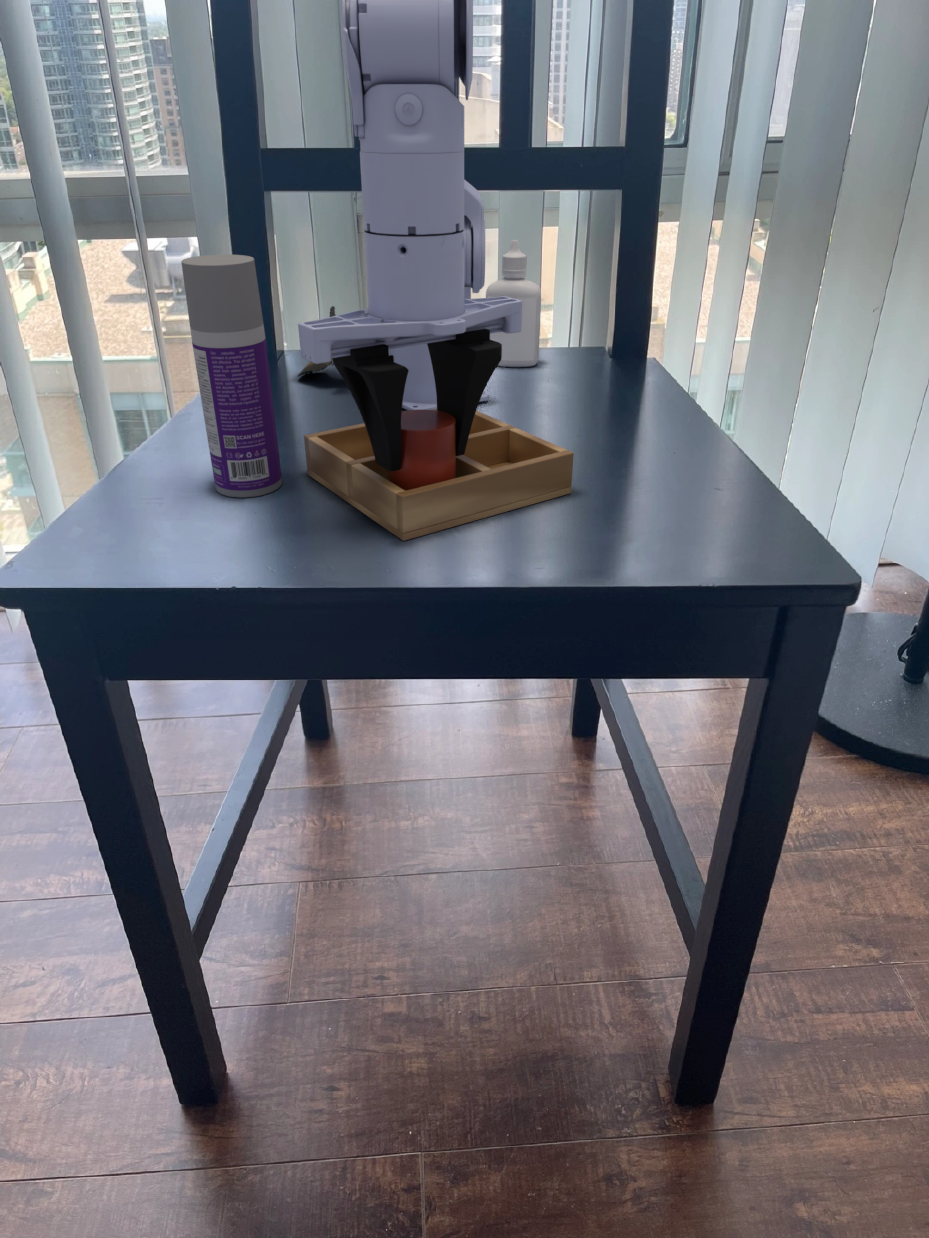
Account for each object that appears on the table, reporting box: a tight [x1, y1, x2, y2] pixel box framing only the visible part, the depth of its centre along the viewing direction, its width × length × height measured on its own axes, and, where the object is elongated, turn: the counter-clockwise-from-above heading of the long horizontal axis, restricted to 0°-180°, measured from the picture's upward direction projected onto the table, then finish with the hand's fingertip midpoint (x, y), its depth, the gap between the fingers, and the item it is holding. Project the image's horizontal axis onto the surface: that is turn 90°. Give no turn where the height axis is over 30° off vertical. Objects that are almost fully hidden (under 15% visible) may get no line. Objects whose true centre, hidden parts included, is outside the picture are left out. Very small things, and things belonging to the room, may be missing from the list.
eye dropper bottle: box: [485, 239, 542, 368], centre depth 87 cm, size 4×6×12 cm
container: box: [180, 254, 283, 498], centre depth 57 cm, size 5×5×15 cm
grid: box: [303, 409, 575, 542], centre depth 60 cm, size 14×14×3 cm
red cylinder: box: [388, 410, 456, 490], centre depth 55 cm, size 4×4×4 cm
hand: (420, 458), depth 56 cm, fingers closed on red cylinder, 4 cm apart
